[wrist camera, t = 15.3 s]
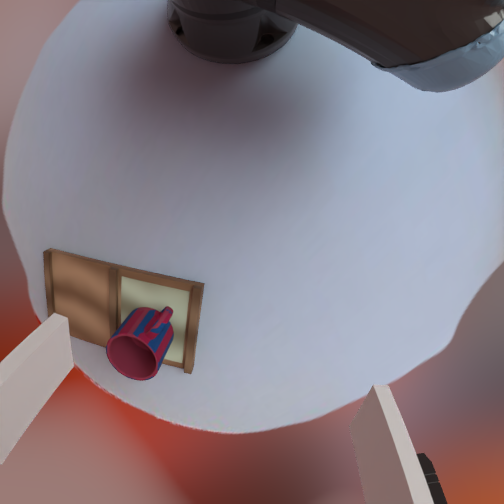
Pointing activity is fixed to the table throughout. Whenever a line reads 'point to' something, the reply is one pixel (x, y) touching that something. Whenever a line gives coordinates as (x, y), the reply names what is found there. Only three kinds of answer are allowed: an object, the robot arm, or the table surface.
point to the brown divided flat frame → (120, 300)
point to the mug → (141, 343)
